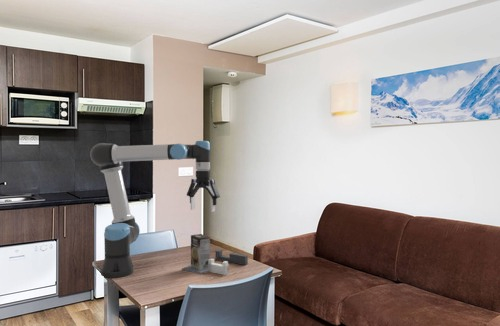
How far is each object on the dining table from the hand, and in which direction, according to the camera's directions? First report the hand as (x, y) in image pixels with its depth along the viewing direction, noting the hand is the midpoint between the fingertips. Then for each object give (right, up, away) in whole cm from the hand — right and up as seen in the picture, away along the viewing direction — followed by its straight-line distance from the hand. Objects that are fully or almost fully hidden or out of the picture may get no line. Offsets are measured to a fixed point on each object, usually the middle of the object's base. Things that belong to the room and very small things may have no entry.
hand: (202, 210), depth 197 cm
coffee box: (-1, -29, -6) cm, 29 cm away
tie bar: (+15, -28, +5) cm, 32 cm away
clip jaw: (+9, -29, -13) cm, 33 cm away
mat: (-1, -29, -6) cm, 29 cm away
